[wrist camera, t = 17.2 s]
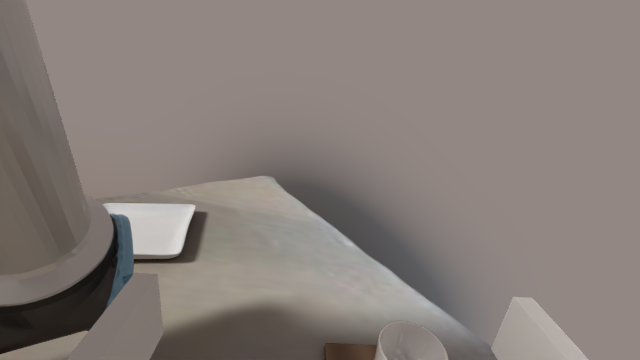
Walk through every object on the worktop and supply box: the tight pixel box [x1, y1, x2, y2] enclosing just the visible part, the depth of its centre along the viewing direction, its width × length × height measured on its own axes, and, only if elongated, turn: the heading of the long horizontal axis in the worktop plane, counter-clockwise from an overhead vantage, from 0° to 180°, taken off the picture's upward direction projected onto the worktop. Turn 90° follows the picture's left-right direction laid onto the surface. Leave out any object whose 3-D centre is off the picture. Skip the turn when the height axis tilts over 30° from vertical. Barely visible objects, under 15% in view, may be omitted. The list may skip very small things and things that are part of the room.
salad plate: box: [102, 203, 196, 259], centre depth 67 cm, size 21×21×3 cm
